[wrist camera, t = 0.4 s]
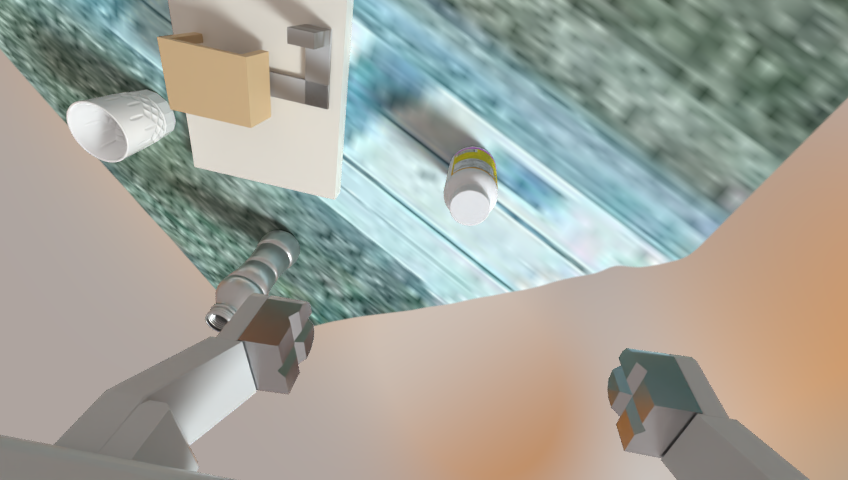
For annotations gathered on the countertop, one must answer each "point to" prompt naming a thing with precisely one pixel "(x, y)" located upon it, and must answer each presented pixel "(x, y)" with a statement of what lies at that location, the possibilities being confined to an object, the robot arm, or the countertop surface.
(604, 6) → the countertop surface
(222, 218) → the countertop surface
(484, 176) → the supplement bottle
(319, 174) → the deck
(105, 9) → the countertop surface
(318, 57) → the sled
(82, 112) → the white cup
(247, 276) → the plastic bottle
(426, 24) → the countertop surface
